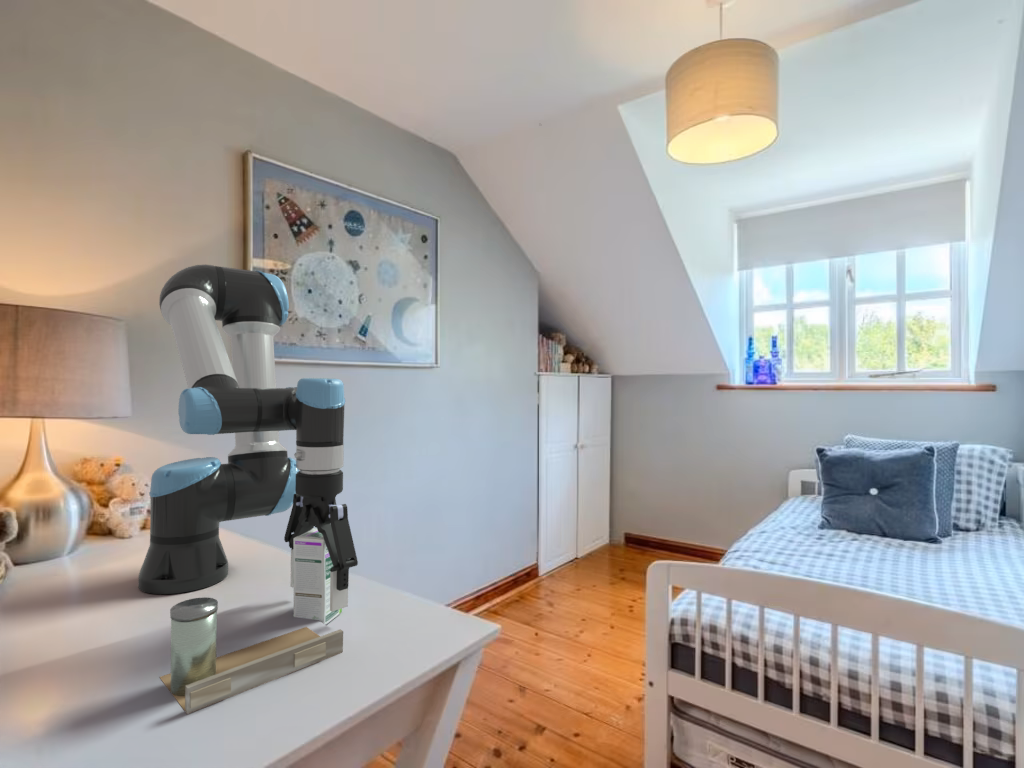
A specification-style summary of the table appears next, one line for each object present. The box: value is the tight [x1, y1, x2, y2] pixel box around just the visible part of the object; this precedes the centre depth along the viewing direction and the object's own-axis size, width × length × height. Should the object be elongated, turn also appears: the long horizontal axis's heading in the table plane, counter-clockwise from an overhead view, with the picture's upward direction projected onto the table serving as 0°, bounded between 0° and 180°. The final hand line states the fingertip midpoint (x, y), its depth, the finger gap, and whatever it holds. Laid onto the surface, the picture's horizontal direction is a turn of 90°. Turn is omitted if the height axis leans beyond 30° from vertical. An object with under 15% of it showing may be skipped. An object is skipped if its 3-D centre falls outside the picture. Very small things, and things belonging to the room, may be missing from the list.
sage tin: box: [169, 596, 219, 696], centre depth 69 cm, size 5×5×10 cm
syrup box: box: [293, 527, 343, 626], centre depth 91 cm, size 6×6×14 cm
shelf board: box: [159, 626, 344, 715], centre depth 74 cm, size 11×20×4 cm, turn 137°
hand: (317, 596), depth 91 cm, fingers open, 13 cm apart
